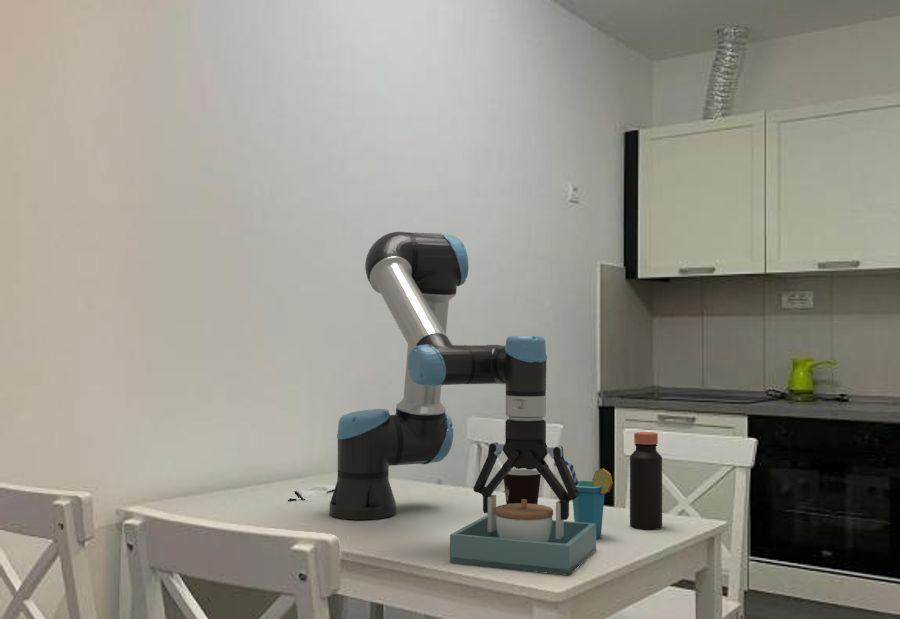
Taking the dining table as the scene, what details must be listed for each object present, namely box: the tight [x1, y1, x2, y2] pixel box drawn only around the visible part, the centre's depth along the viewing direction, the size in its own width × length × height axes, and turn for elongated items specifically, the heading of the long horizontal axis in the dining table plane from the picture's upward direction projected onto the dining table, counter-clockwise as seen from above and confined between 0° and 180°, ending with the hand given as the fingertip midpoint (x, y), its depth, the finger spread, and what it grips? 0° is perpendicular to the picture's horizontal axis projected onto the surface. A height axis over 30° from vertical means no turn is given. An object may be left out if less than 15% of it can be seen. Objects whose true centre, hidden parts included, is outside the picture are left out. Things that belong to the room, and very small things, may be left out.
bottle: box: [629, 431, 663, 531], centre depth 194 cm, size 7×7×20 cm
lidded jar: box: [495, 499, 554, 542], centre depth 168 cm, size 11×11×9 cm
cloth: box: [287, 484, 336, 501], centre depth 233 cm, size 26×14×2 cm, turn 145°
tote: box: [449, 514, 597, 576], centre depth 168 cm, size 22×20×5 cm
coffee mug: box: [503, 468, 542, 504], centre depth 206 cm, size 12×9×10 cm
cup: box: [553, 460, 614, 540], centre depth 185 cm, size 14×8×15 cm, turn 53°
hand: (525, 534), depth 168 cm, fingers open, 12 cm apart
